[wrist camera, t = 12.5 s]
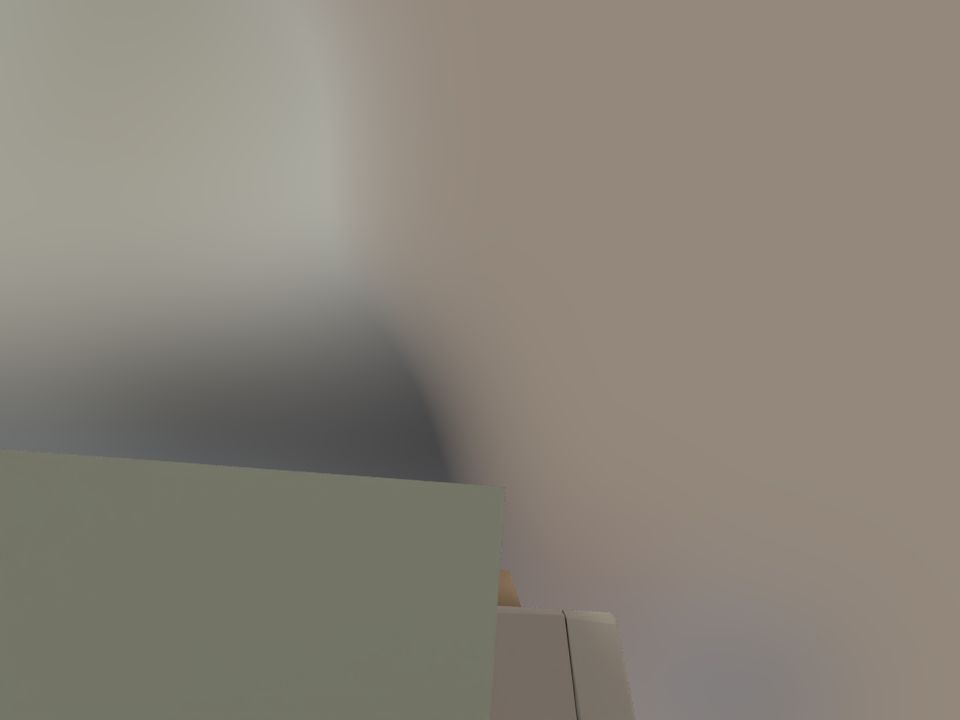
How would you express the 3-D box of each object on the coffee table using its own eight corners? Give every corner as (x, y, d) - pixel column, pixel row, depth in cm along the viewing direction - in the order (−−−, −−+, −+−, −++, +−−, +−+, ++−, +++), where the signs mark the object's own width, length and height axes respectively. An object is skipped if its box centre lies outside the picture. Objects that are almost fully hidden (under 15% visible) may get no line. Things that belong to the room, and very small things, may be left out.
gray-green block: (463, 1118, 5) (505, 486, 5) (-189, 1097, 5) (-68, 444, 5) (426, 594, 31) (434, 499, 32) (331, 588, 31) (340, 492, 32)
